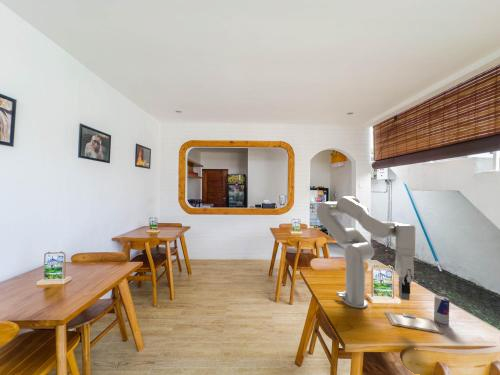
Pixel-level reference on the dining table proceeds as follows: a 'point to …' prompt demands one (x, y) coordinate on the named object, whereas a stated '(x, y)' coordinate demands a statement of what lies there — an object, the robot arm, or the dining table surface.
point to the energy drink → (441, 310)
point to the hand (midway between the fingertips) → (404, 291)
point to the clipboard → (413, 322)
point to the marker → (401, 295)
